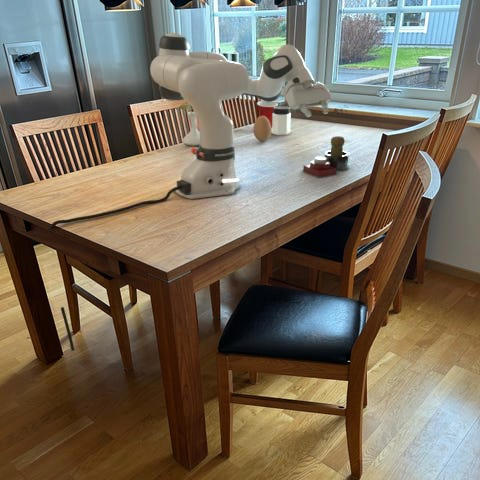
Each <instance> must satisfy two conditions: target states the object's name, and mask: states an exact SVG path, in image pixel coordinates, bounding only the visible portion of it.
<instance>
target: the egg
mask: <svg viewBox="0 0 480 480" xmlns="http://www.w3.org/2000/svg"><path fill="white" fill-rule="evenodd" d="M271 134H272V128H271V125H270V122H269V120H268V119H267V118H266V117H265V116H260V115H259V116H258V117H257V119H256V120H255V121H254V123H253V136H254V137H255V139H256V140H257V141H259V142H266V141H267V140H268V139H269V138H270V137H271Z"/></svg>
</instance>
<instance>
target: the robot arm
mask: <svg viewBox="0 0 480 480" xmlns="http://www.w3.org/2000/svg"><path fill="white" fill-rule="evenodd" d="M158 48H159V52H158V56H156V57H154V58H153V60H152V61H151V64H150V68H149V70H150V71H149V72H150V76H151V78H152V79H153V82H154V83H156V84H157V85H159V86H158V90H159V94H160V96H161V97H162V98H163V99H164V100H167V101H170V102H174V103H175V102H179V101H183V99H184V100H185V101H184V102H185V103H186V102H187V104H188V105H190V107H191V108H193V109H192V110H193V112H195V113H196V116H197V118H196V120H197V123H198V132H200V144H201V145H199V147H198V148H196V147H195V146H192V147H191V148H190V150H189V151H190V153H191V154H193V155H195V157H196V158H194V160H193V161H192V162H191V163H190V164H189V165H188V166H187V167H186V168H185V169H183V170H182V172H181V174H180V180H176V185H175V186H174V187H173V188H172V189H171V188H170V190H169V191H167V193H166V195H165V196H164V197H162V198H159V199H153V200H151V199H150V200H144V201H140V202H136V203H133V204H131V205H127V206H124V207H120V208H118V209H117V208H116V209H113V210H109V211H104V212H100V213H95V214H90V215H83V216H78V217H73V218H67V219H59V220H55V221H53V222H52V223H51V224H50V226H49V227H48V229H49V230H52V229H54V228H55V227H56V226H57V225H59V224H69V223H73V222H80V221H85V220H90V219H96V218H101V217H106V216H110V215H113V214H117V213H121V212H124V211H128V210H132V209H135V208H137V207H140V206H144V205H150V204H158V203H162V202H164V201H167V200H168V199H169V197H170V196H171V194H172V193H174V192H175V193H176V194H177V195H179V196H181V197H182V198H186V199H190V200H195V199H202V198H211V197H221V196H228V195H233V194H234V193H235V191H236V190H237V189H239V187H240V186H239V181H240V178H237V174H236V168H235V167H236V166H235V159H236V152H235V151H236V149H235V144H234V124H233V120H232V118H231V117H230V116H228V115H227V114H225V113H224V112H223V109H222V105H221V102H222V101H227V100H233V99H236V98H237V97H240V96H242V95H243V96H244V95H245V96H249V97H253V98H257V99H259V100H262V101H268V102H271V101H272V102H276V101H277V100H279V98H280V97H281V95H282V94H283V96H285V100H286V103H287V105H288V107H290V109H291V110H300V111H299V112H302V113H303V114H304V115H305V117H306V118H310V117H311V116H312V115H313V114H312V111H311V110H309V109H308V108H311V107H318V106H321V107H322V113H323V115H328V113H329V112H330V110H329V107H328V105H329V104H330V102H331V101H332V100H333V96H332V94H331V92H330V90H329V89H328V88H327V86H326V85H325V84H323V83H322V82H320V81H316V82H315V79H314V78H313V76H312V73H311V72H310V70H309V68H307V67H306V64H305V60H304V59H303V57H302V55H301V53H300V52H299V51H298V48H296V47H295V46H294V45H292V44H289V43H288V44H284V45H282V46H280V47H279V48H278V49H277V50H276V52H275V53H274V55H272V56H270V57H269V58H267V59H266V60H264V62H263V64H262V67H261V71H260V76H259V78H257V79H252V78H250V76H249V72H248V69H247V68H246V67H245V66H244V65H243V64H242V63H240V62H236V61H229V60H228V59H227V57H226V56H225V55H223V54H221V53H218V52H213V51H189V50H192V46H190V44H189V41H188V40H187V38H186V37H185V36H183V35H181V34H179V33H177V32H169V33H166V34H163V35H162V36H161V37H160V38H159V42H158ZM284 83H286V85H285V86H284ZM283 86H284V88H283ZM60 311H61V315H62V318H63V322H64V326H65V330H66V333H67V337H68V341H69V346H70V350H71V352H74V351H75V346H74V342H73V337H72V333H71V329H70V325H69V322H68V319H67V313H66V312H65V311H66V310H65V308H64V306H62V307H60Z"/></svg>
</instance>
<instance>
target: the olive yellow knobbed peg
mask: <svg viewBox="0 0 480 480" xmlns="http://www.w3.org/2000/svg"><path fill="white" fill-rule="evenodd" d="M344 145H345V137H344V136H339V135H336V136H332V137H331V139H330V146H331V148H330V151H331V152H330V155H331V156H343V151H344V150H343V149H344V148H343V146H344Z"/></svg>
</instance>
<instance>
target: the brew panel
mask: <svg viewBox="0 0 480 480" xmlns="http://www.w3.org/2000/svg"><path fill="white" fill-rule="evenodd" d="M314 160H315V159H312V160H310V162H309V164H304V165H303V167H302V171H303V172H305V173H306V174H309V175H311V176H314V177H317V178H323V177H328V176H333V175H337V171H336V169H337V168H334V167H331V166H330V161H327V160H326V163H325V164H316V163H314Z"/></svg>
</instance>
